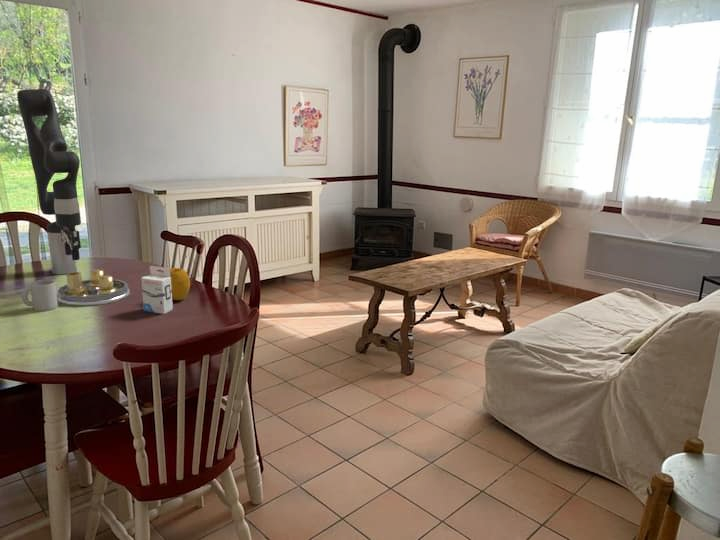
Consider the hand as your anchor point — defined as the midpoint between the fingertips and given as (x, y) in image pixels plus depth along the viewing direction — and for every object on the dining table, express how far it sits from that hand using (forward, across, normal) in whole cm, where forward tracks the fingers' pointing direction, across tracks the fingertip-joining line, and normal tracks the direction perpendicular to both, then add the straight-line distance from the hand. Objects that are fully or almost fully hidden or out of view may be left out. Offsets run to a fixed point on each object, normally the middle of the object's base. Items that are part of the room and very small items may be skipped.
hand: (72, 257), depth 191 cm
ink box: (+15, +29, +18) cm, 37 cm away
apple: (+15, +21, +28) cm, 38 cm away
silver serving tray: (+15, 0, +6) cm, 16 cm away
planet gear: (+14, 0, 0) cm, 14 cm away
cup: (+15, +5, -12) cm, 20 cm away
